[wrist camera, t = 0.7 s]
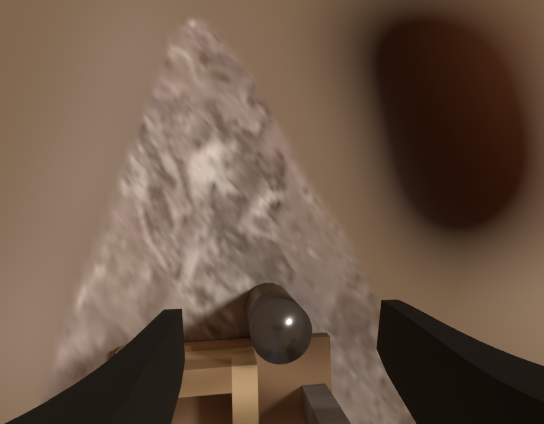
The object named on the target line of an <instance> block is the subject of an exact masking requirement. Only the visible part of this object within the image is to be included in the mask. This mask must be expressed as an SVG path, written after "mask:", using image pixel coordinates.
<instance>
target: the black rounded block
mask: <svg viewBox="0 0 544 424" xmlns="http://www.w3.org/2000/svg"><path fill="white" fill-rule="evenodd" d="M245 314H246V318H247V323H248V328H249V333H250V337H251V342H252V345H253V348H254V349H255V351H256V353H257V354H258V355H259V356H260V357H261V358H262V359H264V360H265V361H267V362H269V363H273V364H288V363H291V362H293V361H295V360H297V359H298V358H300V357H301V356H302V355H303V354H304V353H305V351H306V350H307V348H308V347H309V344H310V341H311V337H312V326H311V322H310V319H309V317H308V315H307V314H306V312H305V311H304V310H303V309H302V308H301V307H300V306H299V305H298V303H297V302H296V301H295V300H294V299H293V298H292V297H291V296H290V295H289V294H288V292H287V291H286V290H285V289H284V288H282V287H281V286H279V285H277V284H274V283H264V284H260V285H258V286H256V287H255V288H254V289H253V290H251V292H250V293H249V294H248V296H247V298H246V301H245Z"/></svg>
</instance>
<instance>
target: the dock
mask: <svg viewBox="0 0 544 424" xmlns="http://www.w3.org/2000/svg"><path fill="white" fill-rule="evenodd" d="M124 347H125V346H124ZM122 348H123V347H119V348H118V349H117V350H116V351H115V354H116V353H117V352H119V351H120V350H121V349H122ZM184 348H185V365H184V372H183V378H182V385H181V389H180V393H179V397H178V401H177V404H176V408H175V412H174V415H173V419H172V422H171V424H351V423H350V422H349V420H348V419H347V417H346V415H345V414H344V412H343V411H342V409H341V407H340V406H339V404H338V403H337V401H336V399H335V398H334V396H333V395H332V391H331V358H330V336H329V335H328V334H327V333H314V334H312V337H311V341H310V344H309V347H308V348H307V350H306V351H305V353H304V354H303V355H302V356H301V357H300V358H298V359H297V360H295V361H293V362H291V363H288V364H273V363H269V362H267V361H265V360H264V359H262V358H261V357H260V356H259V355H258V354H257V353H256V351H255V349H254V348H253V345H252V342H251V338H241V339H226V340H212V341H197V342H184Z"/></svg>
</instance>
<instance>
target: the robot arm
mask: <svg viewBox="0 0 544 424" xmlns="http://www.w3.org/2000/svg"><path fill="white" fill-rule="evenodd" d="M377 351H378V353H379V356H380V358H381V361H382V363H383V365H384V367H385V370H386V372H387V374H388V376H389V378H390V379H391V381H392V383H393V385H394V386H395V388H396V390H397V391H398V393H399V395H400V397H401V398H402V400H403V402H404V403H405V405H406V407H407V408H408V410H409V412H410V413H411V415H412V417H413V418H414V420H415V422H416V423H417V424H544V366H542V365H539V364H536V363H533V362H530V361H527V360H525V359H522V358H519V357H516V356H514V355H511V354H509V353H506V352H504V351H501V350H499V349H496V348H494V347H492V346H489V345H487V344H485V343H483V342H480V341H478V340H476V339H474V338H472V337H470V336H468V335H466V334H464V333H462V332H460V331H458V330H456V329H454V328H452V327H450V326H448V325H446V324H444V323H442V322H440V321H438V320H437V319H435V318H433V317H431V316H429V315H427V314H426V313H424V312H422V311H420V310H418V309H416V308H414V307H412V306H411V305H409V304H406V303H404V302H402V301H400V300H381V310H380V320H379V330H378V339H377ZM184 365H185V348H184V333H183V319H182V309H169V310H163V311H162V312H161V313H160V314H159V315H158V316H157V317H156V318H155V319H154V320H153V321H152V322H151V323H149V324H148V325H147V326H146V327H145V328H144V329H143V330H142V331H141V332H140V333H139V334H138V335H137V336H136V337H135V338H134V339H133V340H132V341H130V342H129V343H128V344H127V345H126V346H125V347H123V348H122V349H121V350H120V351H119V352H117V353H116V354H115V355H114V356H113V357H112V358H110V359H109V360H108V361H107V362H105V363H104V364H103V365H101V366H100V367H99V368H97V369H96V370H95V371H93V372H92V373H90V374H89V375H88V376H86V377H85V378H83V379H82V380H80V381H79V382H77V383H76V384H74V385H73V386H71V387H70V388H68V389H66V390H65V391H63V392H61V393H60V394H58V395H56V396H55V397H53V398H51V399H50V400H48V401H47V402H45V403H43V404H41V405H40V406H38V407H36V408H34V409H32V410H31V411H29V412H27V413H25V414H23V415H21V416H19V417H17V418H15V419H13V420H11V421H9V422H7V423H5V424H171V422H172V419H173V415H174V412H175V408H176V404H177V401H178V397H179V393H180V389H181V385H182V378H183V372H184Z"/></svg>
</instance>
